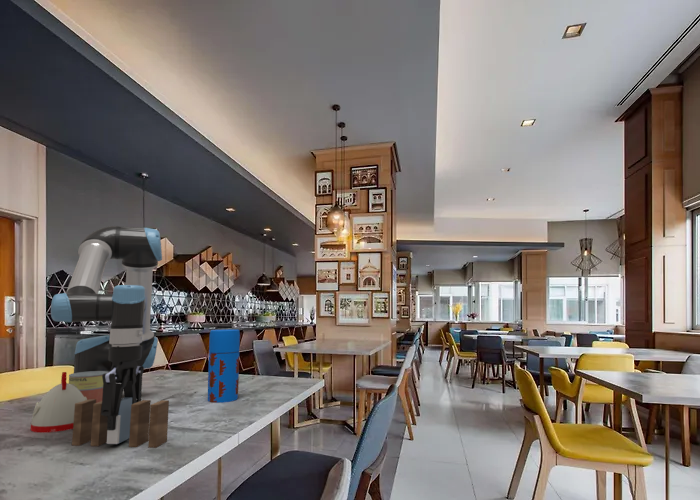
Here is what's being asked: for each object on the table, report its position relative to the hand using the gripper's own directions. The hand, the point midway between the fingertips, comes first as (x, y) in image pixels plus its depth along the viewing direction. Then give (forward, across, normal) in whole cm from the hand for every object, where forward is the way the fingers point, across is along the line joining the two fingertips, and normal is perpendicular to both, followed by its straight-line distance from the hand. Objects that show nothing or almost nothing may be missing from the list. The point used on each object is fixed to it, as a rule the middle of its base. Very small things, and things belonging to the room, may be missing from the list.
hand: (120, 439), depth 105 cm
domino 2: (+1, 0, +5) cm, 5 cm away
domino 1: (+1, 0, +10) cm, 10 cm away
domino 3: (0, 0, 0) cm, 0 cm away
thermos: (+1, +50, -6) cm, 50 cm away
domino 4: (+1, 0, -5) cm, 5 cm away
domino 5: (+1, 0, -10) cm, 10 cm away
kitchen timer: (+1, +14, +28) cm, 31 cm away
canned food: (+1, +31, +33) cm, 45 cm away
